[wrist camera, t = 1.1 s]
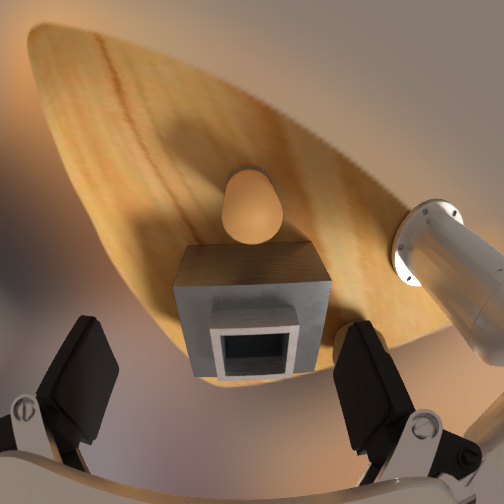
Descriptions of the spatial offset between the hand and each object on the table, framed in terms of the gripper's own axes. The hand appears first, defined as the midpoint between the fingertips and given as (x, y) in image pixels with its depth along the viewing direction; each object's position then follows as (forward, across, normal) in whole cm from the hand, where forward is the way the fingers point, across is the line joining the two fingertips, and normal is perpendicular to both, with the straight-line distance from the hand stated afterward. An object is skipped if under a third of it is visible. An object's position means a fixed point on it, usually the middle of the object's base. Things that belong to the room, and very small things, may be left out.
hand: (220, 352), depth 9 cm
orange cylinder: (+21, -1, -1) cm, 21 cm away
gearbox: (+21, -2, +12) cm, 24 cm away
